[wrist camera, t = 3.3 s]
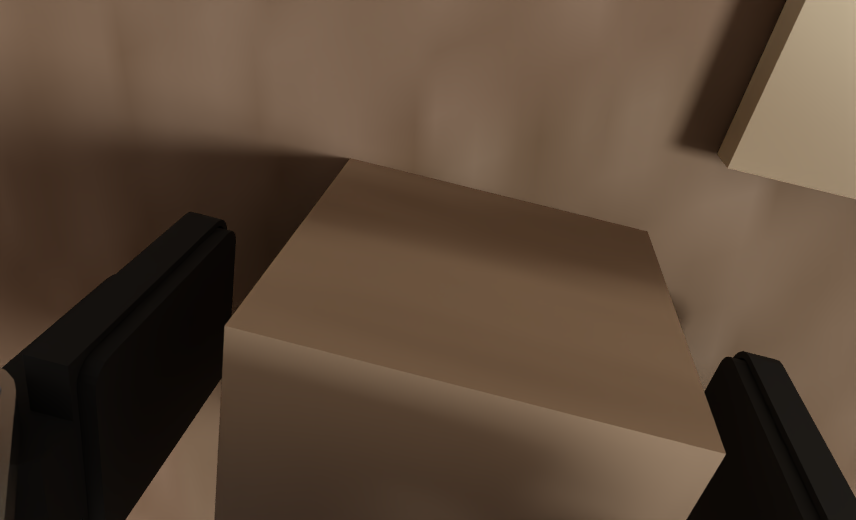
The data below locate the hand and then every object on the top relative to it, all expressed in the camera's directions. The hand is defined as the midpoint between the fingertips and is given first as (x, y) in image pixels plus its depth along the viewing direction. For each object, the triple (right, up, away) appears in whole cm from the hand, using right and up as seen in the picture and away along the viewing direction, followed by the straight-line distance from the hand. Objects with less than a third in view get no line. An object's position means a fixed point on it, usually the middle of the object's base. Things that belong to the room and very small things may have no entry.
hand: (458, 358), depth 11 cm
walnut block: (0, +1, +1) cm, 1 cm away
